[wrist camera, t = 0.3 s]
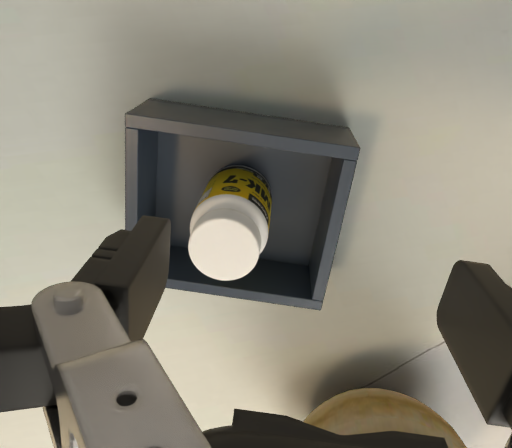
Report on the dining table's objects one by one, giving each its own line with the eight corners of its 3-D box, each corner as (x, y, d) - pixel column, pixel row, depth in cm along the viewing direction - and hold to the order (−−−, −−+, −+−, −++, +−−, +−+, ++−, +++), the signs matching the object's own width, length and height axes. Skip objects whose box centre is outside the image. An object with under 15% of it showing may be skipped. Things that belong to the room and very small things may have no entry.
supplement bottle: (284, 185, 31) (284, 241, 23) (250, 235, 33) (239, 301, 25) (226, 150, 30) (206, 195, 23) (194, 203, 32) (166, 261, 25)
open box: (149, 98, 29) (124, 113, 25) (349, 127, 29) (360, 147, 25) (146, 247, 35) (125, 282, 30) (316, 272, 35) (320, 310, 30)
